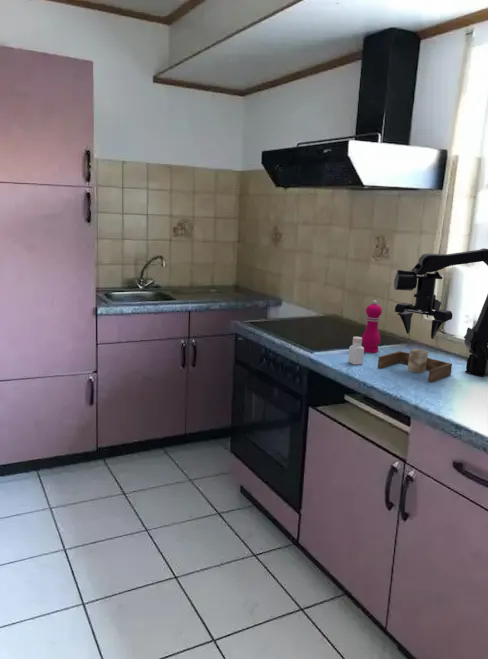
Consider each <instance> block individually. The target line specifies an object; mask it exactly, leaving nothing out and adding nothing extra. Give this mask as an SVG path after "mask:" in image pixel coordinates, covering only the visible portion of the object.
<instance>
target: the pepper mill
mask: <svg viewBox="0 0 488 659" xmlns="http://www.w3.org/2000/svg"><path fill="white" fill-rule="evenodd" d="M371 302H372V304H369V305H367V306H366V309H365V312H366V315H367V316H366V321H367V323H366V328H365V330H364V332H363V334H362V336H361V337H362V344H363V345H362V344H361V346H362V347H363V348H364V353H370V354H375V353H376V354H377V353H378V352H379V346H378V345H379V344H380V343H381V335H380V331H379V327H378V326H379V322H380V319H381V317H380V316H381V315H382V314H383V309H382V307H381V306H380V305H379V304H378V301H377V300H376V299H373V301H371Z"/></svg>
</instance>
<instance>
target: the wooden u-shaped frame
mask: <svg viewBox="0 0 488 659" xmlns="http://www.w3.org/2000/svg"><path fill="white" fill-rule="evenodd" d="M409 353H410V352H406V351H403V350H398V351H395V352H394V351H393V352H391V353H387V354H384V355H381V356H378V361H377V369H383V368H386V367H390V366H392V365H397V364H399V363H400V364H404V365H408V361H409ZM452 367H453V364H452V362H447V361H443V360H439V359H435V358H430V357H427V365H426V371H428V378H427V382H428V383H430V384H431V383H434V382H436V381H439V380H441V379H443V378H447V377H449V376H451V374H452Z"/></svg>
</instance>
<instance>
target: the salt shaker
mask: <svg viewBox="0 0 488 659" xmlns="http://www.w3.org/2000/svg"><path fill="white" fill-rule="evenodd" d="M362 344H363V343H362V336H353V337H352V344H351V345H350V346H349V349H348V363H350V364H352V365H354V366H355V365H356V366H357V365H363V361H364V353H365V352H364V348H363V347H362Z"/></svg>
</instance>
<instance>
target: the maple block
mask: <svg viewBox="0 0 488 659" xmlns="http://www.w3.org/2000/svg"><path fill="white" fill-rule="evenodd" d="M408 353H409V361H408V364H407V371H409V372H414V373H417V374H421V373H424V372H426V371H427V369H426V365H427V358H429V357H428V356H429V351H428V350H423V349H421V348H420V349H419V348H414V349H410V350H409V352H408Z"/></svg>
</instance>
